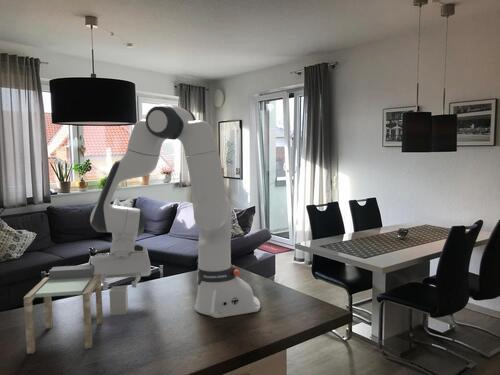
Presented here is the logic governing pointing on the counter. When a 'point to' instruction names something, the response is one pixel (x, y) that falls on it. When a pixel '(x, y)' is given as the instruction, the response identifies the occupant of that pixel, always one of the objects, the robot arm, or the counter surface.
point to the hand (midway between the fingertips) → (119, 287)
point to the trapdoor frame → (49, 317)
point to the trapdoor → (67, 281)
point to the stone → (118, 300)
